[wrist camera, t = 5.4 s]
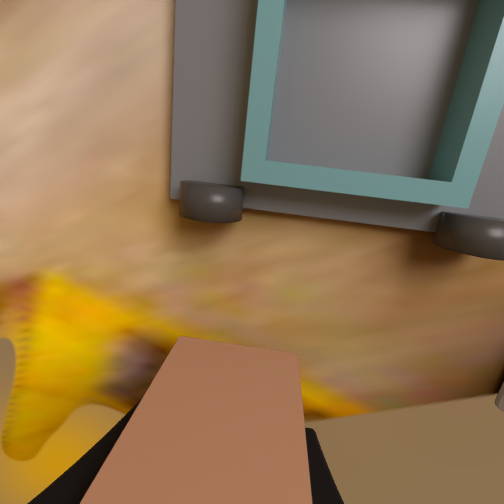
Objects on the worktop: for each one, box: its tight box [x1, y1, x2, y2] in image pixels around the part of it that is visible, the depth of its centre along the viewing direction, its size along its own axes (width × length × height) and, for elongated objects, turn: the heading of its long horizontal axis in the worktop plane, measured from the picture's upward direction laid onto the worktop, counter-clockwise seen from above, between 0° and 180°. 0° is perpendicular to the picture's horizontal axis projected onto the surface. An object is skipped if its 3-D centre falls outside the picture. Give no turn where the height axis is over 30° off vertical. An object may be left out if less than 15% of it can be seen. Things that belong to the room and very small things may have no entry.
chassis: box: [170, 0, 504, 260], centre depth 12 cm, size 18×14×3 cm
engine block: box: [80, 336, 312, 504], centre depth 8 cm, size 4×4×6 cm
